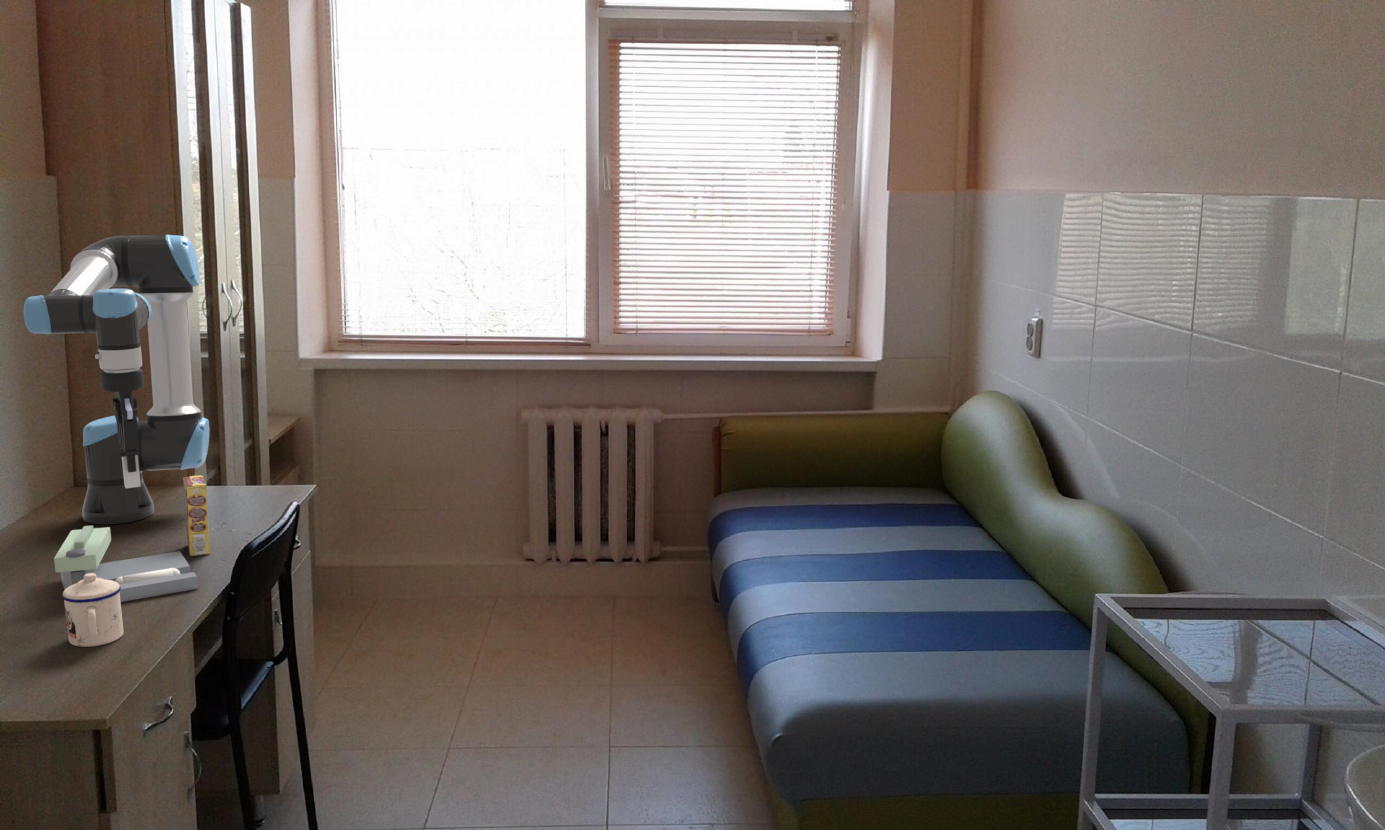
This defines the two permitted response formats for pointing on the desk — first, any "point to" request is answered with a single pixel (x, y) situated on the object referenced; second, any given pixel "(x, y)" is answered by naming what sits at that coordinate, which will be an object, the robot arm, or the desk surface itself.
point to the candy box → (196, 515)
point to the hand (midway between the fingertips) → (132, 486)
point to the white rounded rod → (147, 576)
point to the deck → (141, 566)
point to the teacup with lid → (93, 611)
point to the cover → (83, 549)
